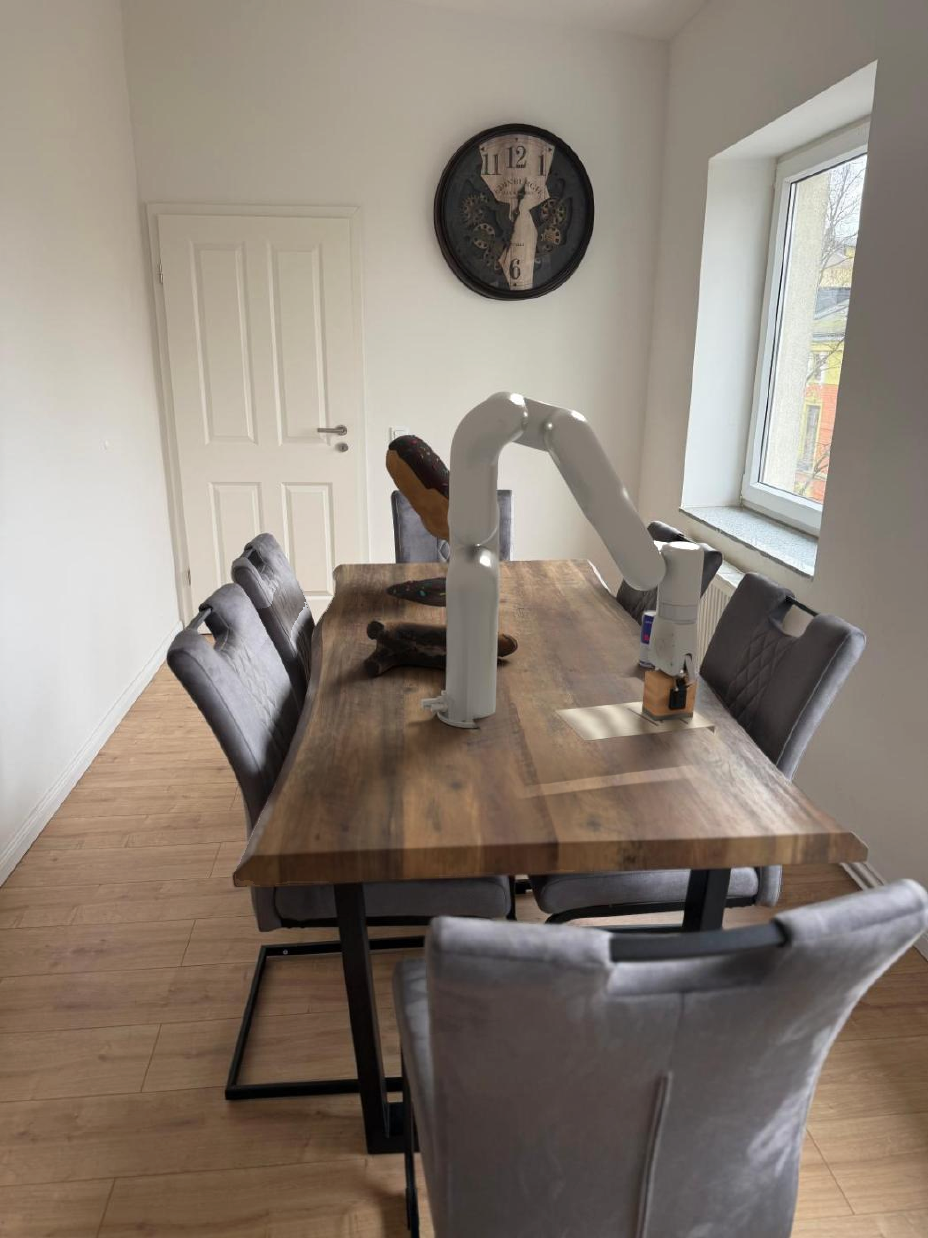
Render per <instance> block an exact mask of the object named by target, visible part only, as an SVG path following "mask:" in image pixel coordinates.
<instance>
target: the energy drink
mask: <svg viewBox="0 0 928 1238" xmlns="http://www.w3.org/2000/svg"><path fill="white" fill-rule="evenodd" d="M655 614H656V609H654V610H653V609H649V610H645V611H643V614H642V617H641V631H640V644H639V656H638V664H639V665H640V666H641V667H644V668H648V669H654V666H653V664H652V663H651V662H650V661H649V659H648V650H649V642H650V635H651V629H652V624H653V620H654V617H655Z"/></svg>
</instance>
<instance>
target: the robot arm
mask: <svg viewBox="0 0 928 1238" xmlns="http://www.w3.org/2000/svg"><path fill="white" fill-rule="evenodd" d="M456 427H457V428H456V429H455V432H454V433H453V437H452V439H451V445H450V451H449V453H450V455H449V471H450V479H449V509H448V516H447V517H448V525H449V538H450V543H449V564H448V568H447V573H446V577H447V578H446V607H445V608H446V610H445V611H446V612H445V613H446V614H445V615H446V617H445V618H446V623H445V624H446V669H445V690H443V689H442V690H441V695H437V696H436V697H426V698H421V699H420V707H421V709H422V710H424V709H430V711H431V712H433V713H434V712H437V713H436V714H437V718H438V719H439V720H440V721H442V722H443V723H444V724H447V725H449V726H452V727H456V728H464V729H465V728H466V729H480V726H479V725H478V723H477V722H476V721H475V719H483V718H487V717H489V716H492V715H493V714H495V712H496V707H497V706H496V705H497V704H496V703H497V701H496V700H497V672H498V671H497V669H498V668H497V667H498V665H497V663H498V657H497V639H498V632H499V631H498V630H499V606H500V605H499V604H500V591H501V590H500V587H501V583H500V582H501V581H500V580H501V578H500V576H501V575H500V574H501V573H500V520H501V519H500V517H501V516H500V515H501V514H500V512H501V511H500V505H499V502H498V479H499V477H498V476H499V458H500V455H501V452H502V450H503V449H504V448H505V446H506V445H508V444H510V443H514V444H518V445H520V446H524V447H527V448H532V449H535V450H538V451H542V452H546V453H548V455H549V456H550V458H551V460H552V462H553V464H554V465H555V467H556V468H557V471H559V472H558V473H560V475H561V477H562V479H563V481H564V482H565V484H566V485H567V488H568V489H569V491H570V493H571V494H572V496H573V498H574V500H575V501H576V503H577V505H578V507H579V508H580V510H581V511H582V514H583V515H584V516H585V518H586V519H587V521H588V522H589V523H590V525H591V526H592V527H593V529H594V530H595V531H596V533H597V534H598V537H600V539H601V541H602V543H603V545H604V546H605V548H606V549H607V551H608V552H609V554H610V556H611V558H612V560H613V561H614V563H615V565H616V567H617V569H618V571H619V573H620V574H621V576H622V577H623V579H624V581H625V582H626V584H627V585H628V586H630V587H631V588H633V589H634V590H636V591H642V592H647V591H651V590H654V589H656V588H657V596H656V597H657V598H656V609H655V610H656V614H655V617H654V620H653V624H652V629H651V635H650V642H649V650H648V659H649V661H650V662H651V663H652V664H653V666H654V668H653V670H662V671H663V672H665V673H666V674H668V675H670V676H672V685H673V689H670V699H669V709H670V710H680V709H685V707H686V696H687V690H688V689H689V686H690V685H691V684H692V683H694V682H695V681H696V673H695V672H696V668H697V667H696V666H697V661H698V660H697V659H698V639H699V638H698V620H699V611H700V602H701V591H702V582H703V573H704V571H703V570H704V560H705V552H704V548H703V547H702V546H701V545H699V544H697V543H695V542H694V543H693V542H690V541H689V542H688V541H671V542H663V541H658V540H654V538H653V537H652V535H651V534H650V532H649V530H648V529H647V526H646V524H645V523H644V521H643V520H642V517H641V516H640V515H639V512H638V510H637V509H636V507H635V505H634V503H633V501H632V499H631V496H630V494H629V492H628V490H627V489H626V487H625V485H624V483H623V481H622V478H621V477H620V476H619V474H618V473H617V471H616V469H615V467H614V464H613V463H612V461H611V460H610V458H609V456H608V454H607V453H606V451H605V449H604V447H603V446H602V443H601V442H600V440H599V438H598V436H597V435H596V433H595V431H594V429H593V427H592V426H591V424H590V422H589V421H588V419H586V418H585V416H583V415H582V414H581V413H579V412H577V411H575V410H574V409H569V408H567V407H566V408H565V407H561V406H557V405H555V404H554V405H553V404H550V403H546V402H544V401H543V402H542V401H541V400H538V399H533V398H531V397H528V396H524V395H521V394H519V393H518V394H517V393H516V392H515V393H514V392H511V391H499V392H495V393H492V395H490V396H488V398H487V399H485V400H484V401H482V402H480V403H479V404H477V405H476V406H475V407H473V408H472V409H470V411H468V413H466V414H465V415H464V417H463V418H462V419H461V421H460V422H459V423H458V425H457V426H456ZM681 670H683V672H682V673H680V672H681ZM681 676H683V679H681V680H680V681H679V682H678V677H681Z"/></svg>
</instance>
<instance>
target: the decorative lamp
mask: <svg viewBox="0 0 928 1238" xmlns="http://www.w3.org/2000/svg"><path fill="white" fill-rule="evenodd" d="M387 448H388V449H387V451H386V453H385V468H386V471H387V472H388V474H389V476H390V478H391V479H392V480H393V483H394V485H395V487H396V488H397V490H399V492H400V493H401V494H402V495H403V496H404V497H405V498H406V499H407V501H408V503H409V504H410V506H411V508H412V509H413V511H414V512H415V513H416V514H417V515H418V516H419V519H420V521H421V524H422V526H423V528H424V529H425V530H426V531H427V532H428V533H429V534H430V535H431V536H432V537H434V538H435V539H438V540H440V541H446V542H449V544H450V538H449V525H448V517H447V516H448V509H449V479H450V469H448V468H447V466H446V464H445V463H444V461H443V460H442V459H441V456H439V455H438V454H437V453H435V451H434V450H433V448H432V447H431V446H430V445H429V444H428V443H427V442H425V441H424V440H423V439H422V438H421V437H419V436H416V434H403V435H400V436H397V437H396V438H394V439H393V440H392V441H391V442H390V443H389V444H388V446H387ZM446 578H447V576H446V577H440V576H438V577H436V578H435V577H434V578H425V579H421V580H413V579H412V580H407V581H404V582H400V583H397V584H392V585H390V586H388V587H387V588H386V594H387V595H390V596H394V597H397V598H399V599H402V600H403V599H404V600H407V601H410V602H416V603H419V604H422V605H427V606H430V607H437V608H438V607H439V608H442V607H443V608H446Z"/></svg>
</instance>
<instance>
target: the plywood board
mask: <svg viewBox="0 0 928 1238" xmlns="http://www.w3.org/2000/svg"><path fill="white" fill-rule="evenodd" d="M642 703H643V701H636V702H625V703H615V704H606V705H605V704H604V705H597V706H596V705H594V706H588V707H576V708H568V709H559V710H557V709H556V710H554V713H555V714H556V715H557V716H558V717H560V718H561V719H562V721H563V722H565V723H566V724H567V725H568V726H569V728H570V729H572V730H573V732H575V733H576V734H577V735H578V736H579V737H580V738H581V739H582V740H583V741H584V742H586V741H587V742H588V741H597V740H606V739H614V738H623V737H629V736H639V735H640V736H641V735H648V734H649V735H650V734H657V733H664V732H673V731H682V730H689V729H690V730H691V729H699V728H700V729H701V728H705V729H706V728H707V729H708V730H709V731H711V733H713V734H715V730H716V725H715V724H714V723H712V722H711V721H710V720H708V719H707V718H705V717H704V716H702V715H701V714H699V713H698V712H697V711H695V710H694V712H693V717H690V718H679V719H669V720H659V721H654V720H653V719H652V718H650V717H649V716H648V715H647V714H645V713H644V712H643V711H642Z"/></svg>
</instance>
